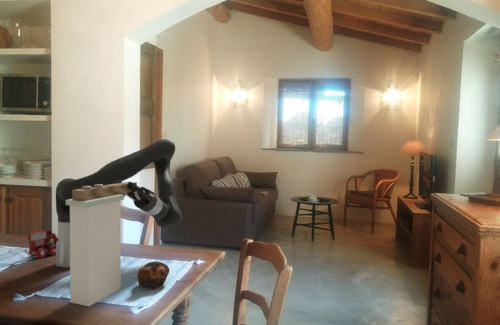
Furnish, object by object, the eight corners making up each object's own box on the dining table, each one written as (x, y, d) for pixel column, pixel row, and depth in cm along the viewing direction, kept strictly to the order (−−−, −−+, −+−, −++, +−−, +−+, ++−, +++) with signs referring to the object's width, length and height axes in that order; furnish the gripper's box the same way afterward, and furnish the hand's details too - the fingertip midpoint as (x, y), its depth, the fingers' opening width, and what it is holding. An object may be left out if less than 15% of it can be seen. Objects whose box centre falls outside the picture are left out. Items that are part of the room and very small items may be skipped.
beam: (127, 190, 135) (127, 179, 135) (136, 191, 134) (136, 180, 133) (72, 200, 112) (72, 187, 111) (83, 201, 110) (83, 188, 110)
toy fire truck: (63, 253, 162) (63, 229, 162) (33, 260, 152) (33, 235, 151) (54, 250, 166) (54, 226, 166) (24, 257, 156) (24, 232, 155)
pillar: (104, 284, 129) (104, 193, 127) (123, 288, 126) (124, 194, 124) (66, 303, 114) (65, 200, 112) (87, 308, 111) (87, 202, 109)
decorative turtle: (128, 291, 123) (128, 266, 123) (152, 278, 138) (152, 256, 138) (155, 294, 121) (155, 268, 121) (176, 280, 135) (176, 257, 135)
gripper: (135, 192, 148) (109, 172, 133) (167, 194, 143) (144, 174, 129) (129, 210, 145) (102, 192, 130) (162, 213, 140) (137, 195, 126)
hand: (123, 183), depth 130 cm, fingers closed on beam, 4 cm apart
